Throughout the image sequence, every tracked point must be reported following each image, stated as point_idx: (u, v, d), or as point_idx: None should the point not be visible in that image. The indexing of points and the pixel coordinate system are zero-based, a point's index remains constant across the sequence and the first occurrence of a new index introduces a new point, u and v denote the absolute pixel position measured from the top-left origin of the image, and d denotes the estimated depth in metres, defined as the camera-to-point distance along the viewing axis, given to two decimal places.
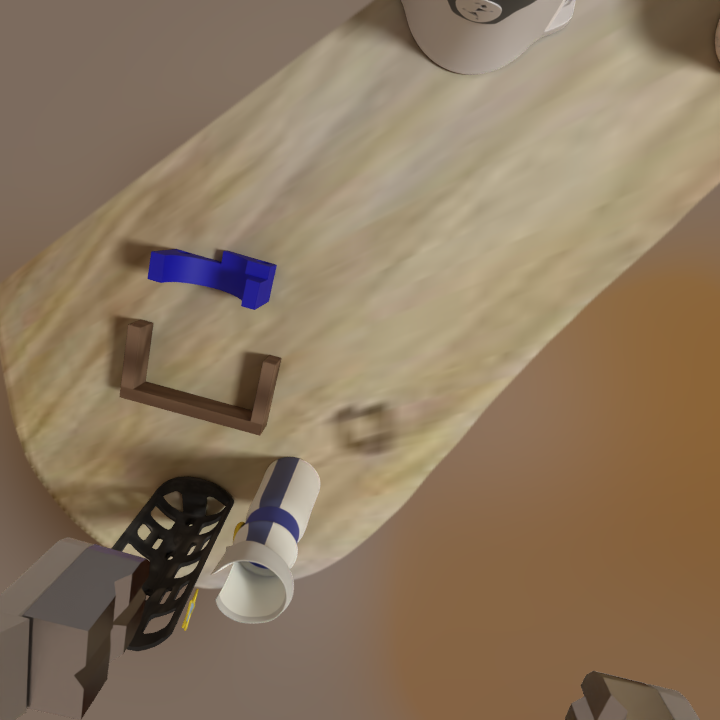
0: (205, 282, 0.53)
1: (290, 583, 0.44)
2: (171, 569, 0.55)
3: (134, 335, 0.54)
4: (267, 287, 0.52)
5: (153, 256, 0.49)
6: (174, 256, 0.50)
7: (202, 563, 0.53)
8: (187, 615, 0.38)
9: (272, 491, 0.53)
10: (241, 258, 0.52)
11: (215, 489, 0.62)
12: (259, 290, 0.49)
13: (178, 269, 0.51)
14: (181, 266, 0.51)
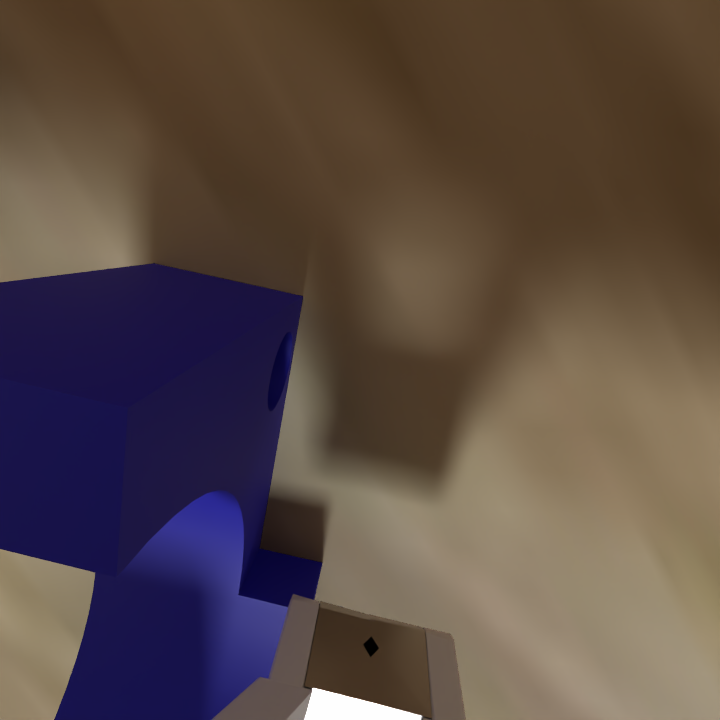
0: None
1: None
2: None
3: None
4: None
5: (64, 431, 0.03)
6: None
7: None
8: None
9: None
10: None
11: None
12: None
13: None
14: None
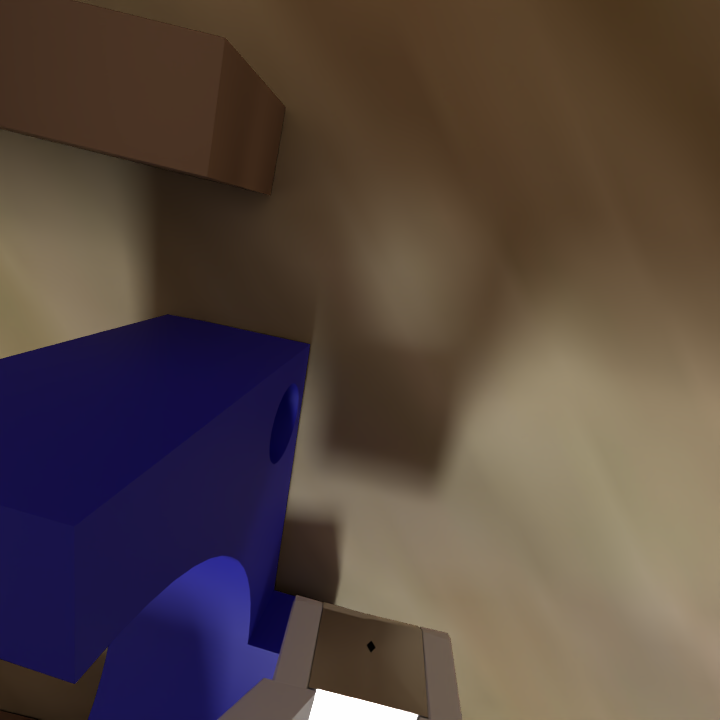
0: None
1: None
2: None
3: (121, 100, 0.05)
4: None
5: (20, 544, 0.03)
6: None
7: None
8: None
9: None
10: None
11: None
12: None
13: None
14: None
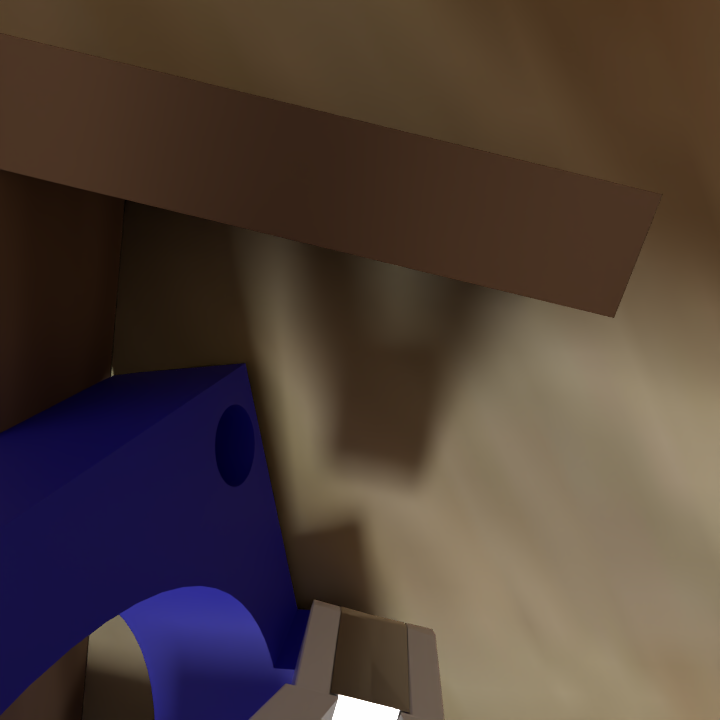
0: (135, 616, 0.09)
1: None
2: None
3: (543, 248, 0.06)
4: None
5: None
6: (109, 614, 0.05)
7: None
8: None
9: None
10: None
11: None
12: None
13: None
14: None
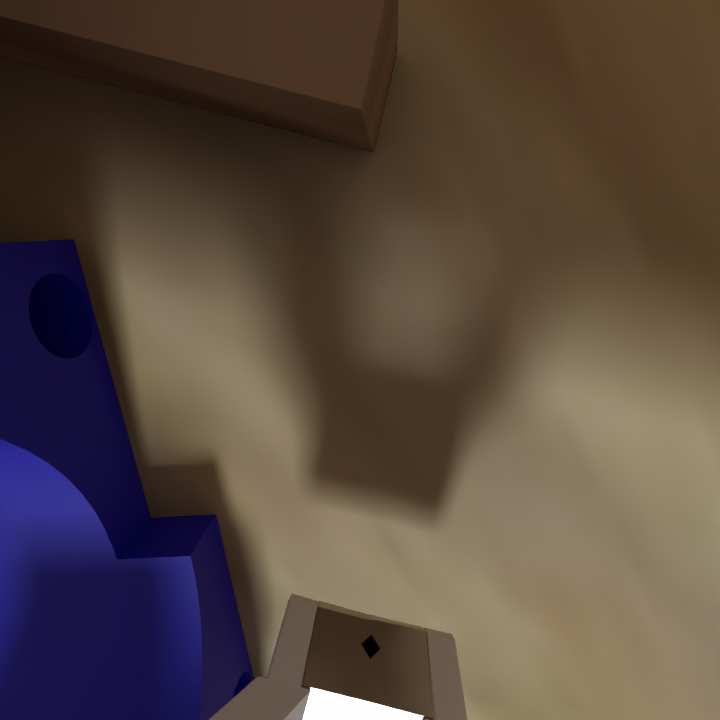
0: None
1: None
2: None
3: (266, 15, 0.05)
4: None
5: None
6: None
7: None
8: None
9: None
10: (195, 685, 0.09)
11: None
12: None
13: None
14: None
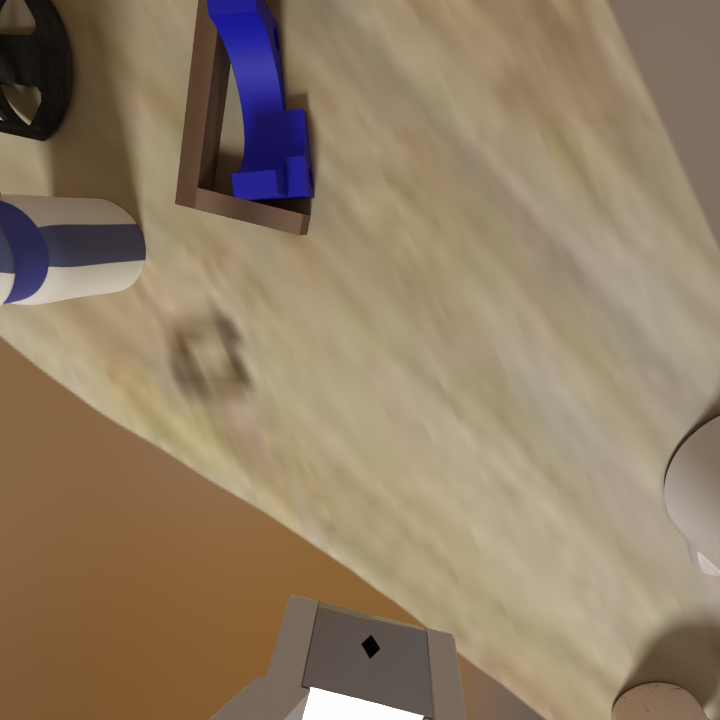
0: (243, 93, 0.33)
1: None
2: None
3: None
4: (277, 198, 0.34)
5: None
6: (262, 27, 0.29)
7: None
8: None
9: (76, 242, 0.30)
10: (303, 143, 0.33)
11: (57, 107, 0.35)
12: (266, 195, 0.31)
13: (244, 40, 0.30)
14: (252, 44, 0.30)
